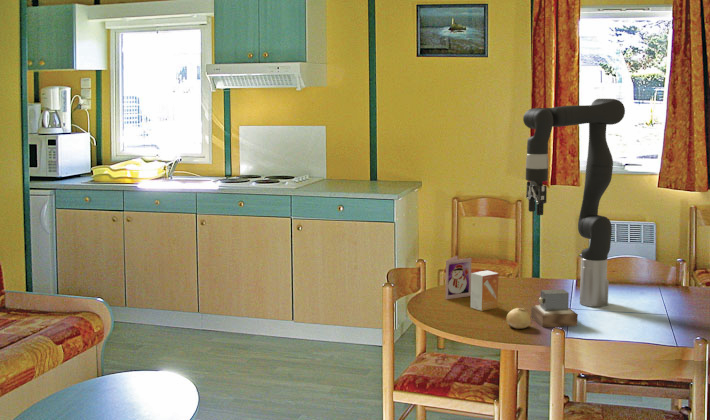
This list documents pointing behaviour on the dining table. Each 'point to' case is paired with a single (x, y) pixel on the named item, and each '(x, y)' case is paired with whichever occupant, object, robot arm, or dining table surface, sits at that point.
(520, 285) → the dining table surface
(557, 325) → the stand
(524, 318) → the onion
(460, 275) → the greeting card
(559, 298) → the block
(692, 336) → the dining table surface
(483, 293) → the small box
